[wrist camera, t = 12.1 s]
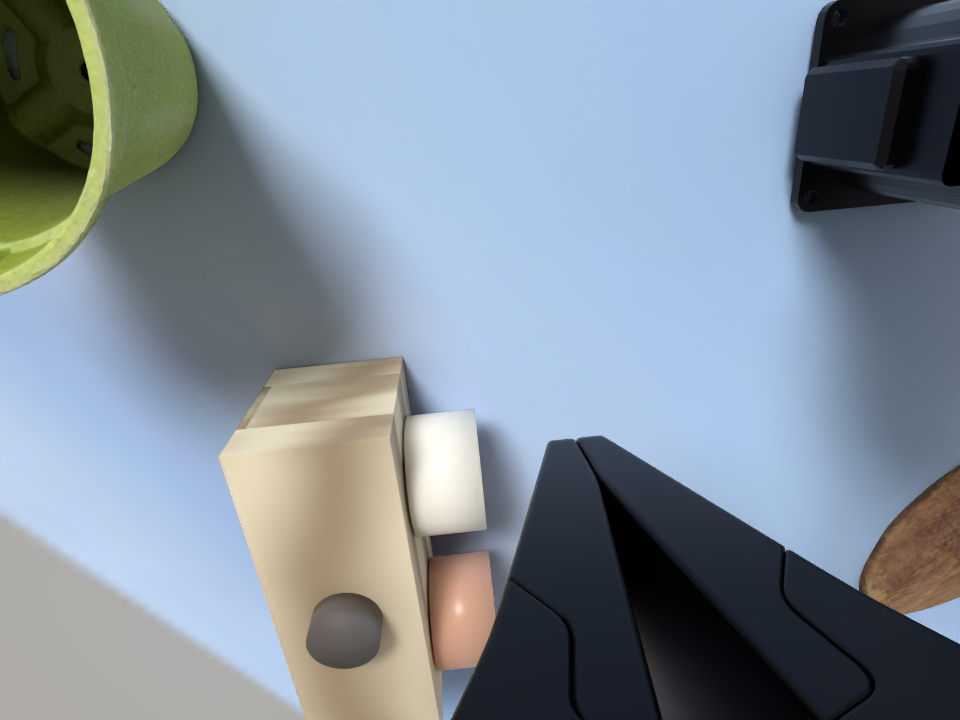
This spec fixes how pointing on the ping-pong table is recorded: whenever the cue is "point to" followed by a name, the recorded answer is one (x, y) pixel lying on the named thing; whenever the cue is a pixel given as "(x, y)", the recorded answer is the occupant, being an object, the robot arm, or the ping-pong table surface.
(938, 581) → the paddle
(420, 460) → the knob
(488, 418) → the ping-pong table surface
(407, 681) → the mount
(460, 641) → the knob
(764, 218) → the ping-pong table surface
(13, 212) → the plant pot
